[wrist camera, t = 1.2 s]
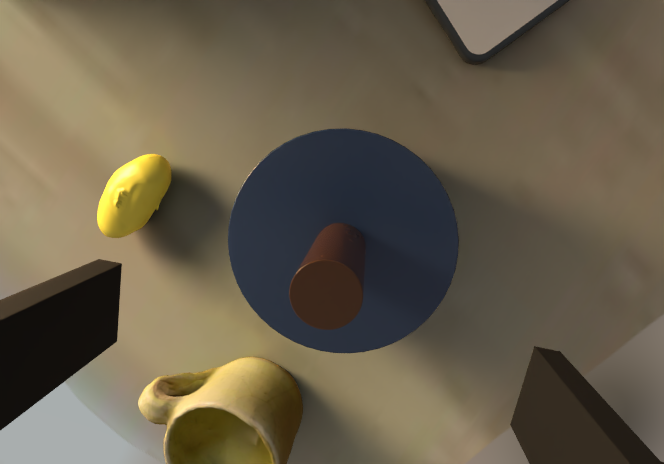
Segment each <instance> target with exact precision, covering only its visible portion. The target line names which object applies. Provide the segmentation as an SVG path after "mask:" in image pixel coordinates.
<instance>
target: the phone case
mask: <svg viewBox="0 0 664 464" xmlns="http://www.w3.org/2000/svg"><path fill="white" fill-rule="evenodd" d="M425 1H426V3H427V5H428V6H429V8H430V9H431V11H432V13H433V14H434V16H435V17H436V19H437V20H438V22H439V24H440V25H441V27H442V28H443V30H444V31H445V33H446V35H447V36H448V38H449V39H450V41H451V43H452V44H453V46H454V47H455V49H456V50H457V52H458V54H459V55H460V57H461V58H462V59H463V60H464V61H465V62H467V63H469V64H480V63H483V62H485V61H487V60H488V59H490V58H491V57H493V56H494V55H495V54H497V53H498V52H499V51H501V50H502V49H504V48H505V47H506V46H508V45H509V44H510V43H512V42H513V41H515V40H516V39H517V38H519V37H520V36H521V35H523V34H524V33H526V32H527V31H528V30H530V29H531V28H532V27H534V26H535V25H537V24H538V23H539V22H541V21H542V20H543V19H545V18H546V17H548V16H549V15H550V14H552V13H553V12H554V11H556V10H557V9H559V8H560V7H561V6H563V5H564V4H565V3H567V2H568V1H569V0H425Z"/></svg>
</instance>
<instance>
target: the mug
mask: <svg viewBox="0 0 664 464" xmlns="http://www.w3.org/2000/svg"><path fill="white" fill-rule="evenodd" d="M185 395H187V396H185ZM171 396H173V397H171ZM176 396H184V397H179V398H175V397H176ZM138 405H139V409H140V411H141V412H142V414H143V415H144V416H145V417H146V418H147V419H148V420H149V421H151V422H153V423H155V424H165V425H167V431H166V435H165V438H164V442H163V444H164V457H165V461H166V464H286V463H287V460H288V458H289V455H290V453H291V449H292V446H293V442H294V439H295V436H296V434H297V431H298V429H299V426H300V423H301V419H302V414H303V404H302V398H301V394H300V391H299V389H298V386H297V384H296V382H295V380H294V379H293V378H292V376H291V375H290V374H289V372H287V371H286V370H284V369H283V368H281V367H280V366H278V365H276V364H275V363H273V362H271V361H268V360H265V359H262V358H257V357H246V358H240V359H237V360H235V361H232V362H230V363H228V364H226V365H224V366H222V367H219V368H212V369H210V370H207V371H203V372H199V373H195V374H192V373H182V374H176V375H172V376H169V375H166V376H161V377H158V378H156V379H155V380H154V381H153V382H152V383H151V384H149V385H148V386H147V387H146V388H145V389H144V391H143V393H142V394H141V396H140V399H139V401H138Z"/></svg>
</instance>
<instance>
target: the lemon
mask: <svg viewBox="0 0 664 464" xmlns="http://www.w3.org/2000/svg"><path fill="white" fill-rule="evenodd" d="M170 182H171V167H170V164H169V162H168V161H167V160H166V159H165V158H164V157H162V156H160V155H156V154H148V155H144V156H141V157H139V158H137V159H135V160H133V161H131V162H129V163H128V164H126V165H124V166H122V167H121V168H120V169H118V170H117V171H116V172H115V173H114V174H113V175H112V177H111V178H110V180H109V182H108V184H107V186H106V188H105V191H104V193H103V195H102V197H101V200H100V203H99V207H98V214H97V221H98V225H99V228H100V230H101V231H102V233H103V234H104V235H105V236H107V237H111V238H121V237H124V236H127V235H129V234H131V233H133V232H135V231H137V230H139V229H141V228H142V227H143V226H144V225H145V224H146V223H147V221H148V220H149V219H150V217H151V215H152V214H153V212H154V210H155V209H156V210H158V207H159V204H160V202H161V199H162V198H163V196H164V195H165V193H166V191H167V190H168V187H169V185H170Z"/></svg>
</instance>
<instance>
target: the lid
mask: <svg viewBox="0 0 664 464" xmlns="http://www.w3.org/2000/svg"><path fill="white" fill-rule="evenodd" d="M458 244H459V238H458V228H457V222H456V218H455V213H454V209H453V207H452V204H451V202H450V199H449V197H448V194H447V193H446V191H445V189H444V187H443V186H442V184H441V182H440V181H439V179H438V178H437V177H436V175H435V174H434V173H433V171H432V170H431V169H430V168H429V167H428V166H427V165H426V164H425V163H424V162H423V161H422V160H421V159H420V158H419V157H418V156H417V155H415V154H414V153H413V152H411V151H410V150H409V149H407V148H406V147H404V146H402V145H400V144H399V143H397V142H395V141H393V140H391V139H389V138H386V137H384V136H381V135H379V134H375V133H371V132H367V131H363V130H355V129H327V130H321V131H315V132H311V133H308V134H305V135H301V136H299V137H296V138H294V139H292V140H290V141H288V142H286V143H284V144H282V145H281V146H279V147H278V148H276V149H275V150H273V151H272V152H270V153H269V154H268V155H267V156H266V157H265V158H263V159H262V160H261V161H260V162H259V163H258V164H257V166H256V167H255V168H254V169H253V170H252V171H251V172H250V174H249V175H248V177H247V178H246V180H245V181H244V183H243V184H242V186H241V188H240V190H239V192H238V195H237V197H236V199H235V202H234V205H233V208H232V211H231V216H230V221H229V229H228V248H229V257H230V262H231V266H232V270H233V273H234V276H235V279H236V281H237V284H238V286H239V288H240V290H241V292H242V294H243V295H244V297H245V298H246V300H247V302H248V303H249V305H250V306H251V307H252V308H253V310H254V311H255V312H256V313H257V314H258V315H259V317H260V318H261V319H262V320H264V321H265V322H266V323H267V324H268V325H269V326H270V327H271V328H273V329H274V330H276V331H277V332H278V333H280V334H281V335H283V336H285V337H286V338H288V339H290V340H292V341H294V342H296V343H299V344H301V345H304V346H306V347H309V348H313V349H316V350H320V351H326V352H333V353H357V352H365V351H370V350H374V349H378V348H381V347H384V346H387V345H390V344H392V343H394V342H396V341H398V340H400V339H402V338H404V337H405V336H407V335H408V334H410V333H411V332H413V331H414V330H416V329H417V328H418V327H419V326H420V325H422V324H423V323H424V322H425V321H426V320H427V319H428V318H429V317H430V316H431V314H432V313H433V312H434V311H435V310H436V309H437V307H438V306H439V304H440V303H441V301H442V300H443V298H444V297H445V295H446V292H447V290H448V288H449V286H450V284H451V281H452V278H453V275H454V272H455V269H456V264H457V258H458Z"/></svg>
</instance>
